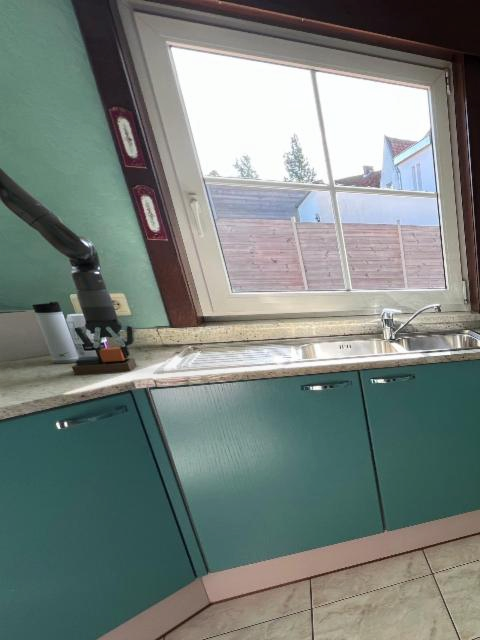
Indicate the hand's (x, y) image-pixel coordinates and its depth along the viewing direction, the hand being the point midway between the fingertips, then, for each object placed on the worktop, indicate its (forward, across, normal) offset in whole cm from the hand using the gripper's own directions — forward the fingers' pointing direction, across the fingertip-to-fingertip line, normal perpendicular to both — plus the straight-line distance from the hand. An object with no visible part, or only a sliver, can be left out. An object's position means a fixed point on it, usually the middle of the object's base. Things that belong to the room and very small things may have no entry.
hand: (115, 358), depth 160 cm
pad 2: (0, 0, 0) cm, 0 cm away
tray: (+4, -3, 0) cm, 5 cm away
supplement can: (+4, -11, +26) cm, 28 cm away
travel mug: (+4, -17, +20) cm, 26 cm away
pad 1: (+3, -6, 0) cm, 7 cm away
